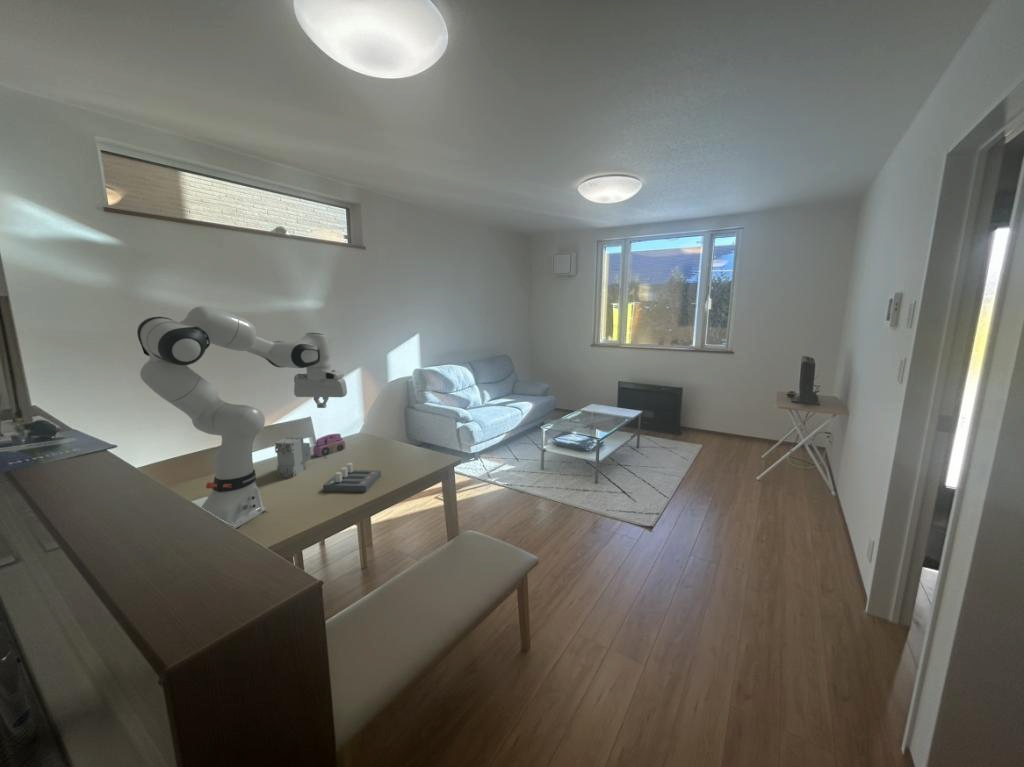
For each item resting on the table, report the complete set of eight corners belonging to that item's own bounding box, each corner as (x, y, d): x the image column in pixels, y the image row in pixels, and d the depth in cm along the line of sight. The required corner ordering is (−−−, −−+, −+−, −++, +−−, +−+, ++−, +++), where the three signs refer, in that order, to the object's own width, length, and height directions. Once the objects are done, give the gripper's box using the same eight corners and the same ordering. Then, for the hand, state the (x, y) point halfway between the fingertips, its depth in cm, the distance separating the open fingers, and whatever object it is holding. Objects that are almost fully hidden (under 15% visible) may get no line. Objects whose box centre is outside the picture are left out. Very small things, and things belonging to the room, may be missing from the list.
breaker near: (340, 482, 162) (339, 473, 161) (335, 482, 162) (335, 473, 161) (342, 480, 164) (341, 472, 163) (338, 480, 164) (337, 471, 163)
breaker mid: (345, 477, 167) (345, 469, 166) (341, 477, 167) (340, 469, 166) (347, 475, 169) (347, 467, 168) (343, 475, 169) (343, 467, 168)
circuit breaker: (313, 465, 188) (311, 433, 185) (294, 477, 174) (291, 443, 171) (298, 464, 189) (295, 433, 186) (277, 476, 175) (274, 442, 172)
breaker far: (351, 472, 171) (350, 464, 171) (346, 472, 172) (346, 464, 171) (353, 470, 173) (352, 463, 173) (349, 470, 174) (348, 463, 173)
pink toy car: (320, 459, 196) (318, 439, 194) (312, 457, 199) (310, 437, 197) (352, 449, 210) (351, 430, 209) (344, 447, 214) (343, 428, 212)
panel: (366, 491, 160) (365, 485, 159) (323, 491, 160) (323, 484, 160) (381, 476, 175) (380, 470, 175) (342, 475, 176) (341, 469, 176)
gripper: (289, 374, 160) (292, 409, 163) (340, 375, 159) (342, 409, 162) (298, 372, 167) (301, 405, 169) (347, 372, 166) (349, 406, 168)
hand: (321, 407), depth 165 cm, fingers closed
